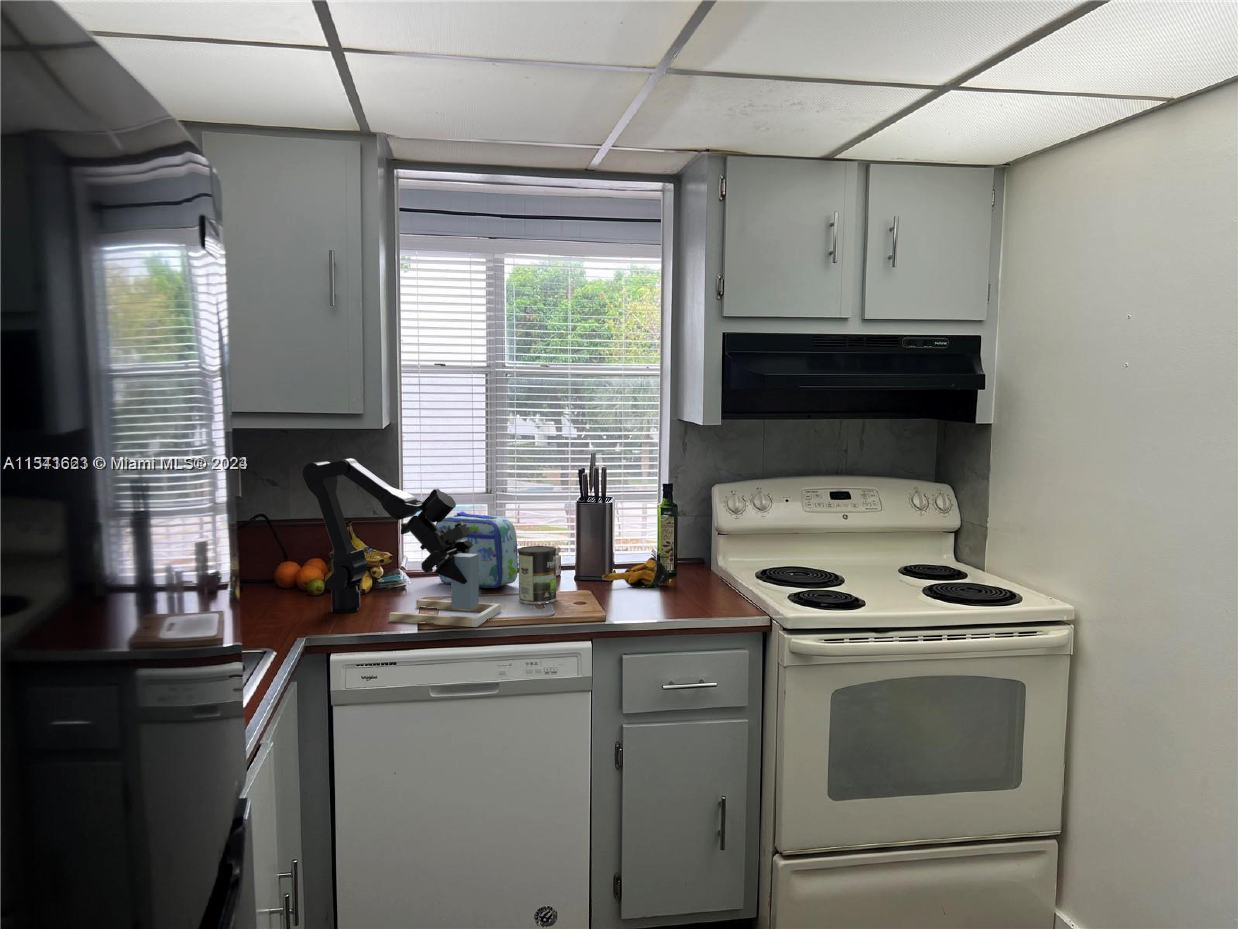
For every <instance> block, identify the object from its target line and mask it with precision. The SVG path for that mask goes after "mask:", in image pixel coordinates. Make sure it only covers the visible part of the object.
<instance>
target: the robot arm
mask: <svg viewBox="0 0 1238 929" xmlns="http://www.w3.org/2000/svg"><path fill="white" fill-rule="evenodd" d="M301 476H302V479H303V482H304V483H305V486H306V487H307V489H308V490H309V491H310V492H311V494H312V495H313V496H314V497H315V498H316V500H317V503H318V505H319V509H320V512H321V515H322V518H323V520H324V524H325V528H326V530H327V534H328V536H329V540H330V543H331V546H332V548H333V556H332V569H333V571H332V573H331V575H329V577H327V579H326V580H325V581H324V584H325V586H326V589H327V590H330V592H331V610H330V613H331V614H336V613H337V614H339V613H352V612H353V613H354V612H358V611H359V608H360V607H361V591H360V589H358V585H360V584H361V583H362V581H363V579H364V578H363V577H364V576H366V574H367V572H368V565H369V561H368V560H367V558H366V554H365V551H364V549H363V548H361V549H358V548H356V546H354V544H353V540H352V539H351V538H352V537H351V536H350V531H349V529H348V526H347V523H346V520H345V517H344V513H343V510H342V507H341V505H340V501H339V499H338V498H339V497H338V495H337V488H338V477H340V476H341V477H342V476H344V477H345V478H347V479H348V480H350V481H351V482H352V483H354V484H355V485H357V486H358V487H359V488H361V489H362V490H363V491H364V492H367V493H368V494H369V495H370V496H372V497H373V498H374V499H376V500H377V501H378V502H379V503H380V505H381V508H382V509H383V510H384V511H385V512H386V513H387V515H388V516H390V517H391V518H392V519H393V520H394V521H395V520H396V521H399V520H404V519H405V520H406V519H408V518H409V520H408V521H407V522H401V523H400V526H401V527H400V535H406V534H408V533H411V535H412V536H413V537H415V539H416V540H417V541H418V542H419V544H420V546H419V549H421V550H422V551H424V550H426V551H427V552H428V553H429V555H428V556H426V558H425V559H424V560H423V561H422V562H421V567H420V568H421V570H422V571H423V572H424V573H425V575H428V574H431V573H432V572H433V573H434V574H435V575H437V574H439V575H442V576H445V577H448V578H450V579H452V580H455V581H457V582H460V583H462V584H465V583H466V582H467V580H466V579H465V577H464V576H463V574H462V573H461V571H460V570H459V569H458V567H457V566H456V565H455V562H454V555H456V554H459V553H468V552H469V549H470V548H471V547H472V546H473V544H472V543H471V542H470V541H469V540H461V541H459V542H457V540H460V539H462V538H464V537H467V536H470V534H469V529H470V527H469V526H467V524H464V523H463V522H460V523H458V524H455V528H453V529H451V530H449V531H446V530H445V529H441V530H440V529H439V528H438V527H437V526H436V523H437V522H442V520H443V519H444V518H446V517H448V515H449V514H450V513H451V512H452V510H454V509H455V508H456V506H457V504H456V501H455V500H454V497H452V496H451V495H448V494H447V493H446V492H443V491H441V490H440V489H439V488H434V489H433V490H432V491H431V492H430V494H429V495H428V496H427V497H426V498H425V499H424V500H420V499H417V497H415V496H414V495H413V494H410V493H408V492H405V491H404V490H400V489H398V488H394V487H392V486H391V485H389V484H388V483H387V482H385V481H384V480H382V479H381V478H379V477H378V476H376V475H375V474H374V473H372V472H371V471H370V470H368V469H367V468H365V467H364V466H363V465H361V464H360V463H359V462H358V461H357V460H356V459H354V458H351V457H349V458H344V459H343V458H342V459H340V460H337V461H331V462H330V461H327V460H324V461H317V462H316V461H315V462H309V463H307V464H306V465H305V466H304V467H303V469H302V471H301ZM418 512H420V513H418ZM417 513H418V515H416V514H417ZM434 567H435V570H433V569H434ZM436 568H437V569H436ZM439 575H438V576H439Z"/></svg>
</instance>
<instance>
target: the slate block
mask: <svg viewBox="0 0 1238 929" xmlns="http://www.w3.org/2000/svg"><path fill="white" fill-rule="evenodd" d="M454 562H455V565H456V566H457V567H458V569H459V570H460V571H461V573H462V574H463V576H464V577H465V579H466V580H467V582H466V583H465V584H462V583H460V582H457V581H455V580H452V579H451V584H450V585H451V588H450V589H451V591H450V592H451V593H450V595H451V600H450V601H451V608H454V609H468V610H470V609H472V608H474V607H476V606H478V605H479V603H480V602H479V596H480V595H479V592H480V591H479V590H480V587H479V554H468V553H459V554H456V555H454Z"/></svg>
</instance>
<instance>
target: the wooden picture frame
mask: <svg viewBox="0 0 1238 929" xmlns="http://www.w3.org/2000/svg"><path fill="white" fill-rule="evenodd" d="M501 604H502V603H492V602H491V603H489V602H479V605H478V606H476V607H474V608H472V609H470V610H468V609H454V608H451V600H441V599H440V600H439V599H424V598H423V599H422V598H421V599H420V598H418V599H416V601H415V606H416V607H415V608H417V609H421V608H420V607H421V606H426V607H434V608H437V609H436V610H446V609H448V610H449V611H465V612H480V613H478V614H477V615H475V616H459V615H456V616H455V615H439V614H430V613H427V614H426V613H411V612H394V611H391V612H390V613H388V622H394V623H395V622H397V623H408V624H409V623H410V624H411V623H412V624H420V623H419V622H425V623H434V624H433V625H441V626H455V627H470V628H471V627H473V628H477V627H479V626H480V625H482V624H484V623H486V622H487V621H488V620H490V619H491V617H492V618H493V617H495V616H496V615H498V614H499V613H501V612H502V606H501ZM489 618H490V619H489ZM487 619H488V620H487ZM486 620H487V621H486Z"/></svg>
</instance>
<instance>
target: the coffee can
mask: <svg viewBox="0 0 1238 929" xmlns="http://www.w3.org/2000/svg"><path fill="white" fill-rule="evenodd" d="M517 553H518V601H519V603H521V604H526V605H540V604H539V603H546V602H551V603H554V602H556V601H557V600H556V599H557V560H556V559H557V557H556V555H557V548H556V547H554V546H551V545H528V546H527V545H526V546H521V547H519V548H517Z"/></svg>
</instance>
